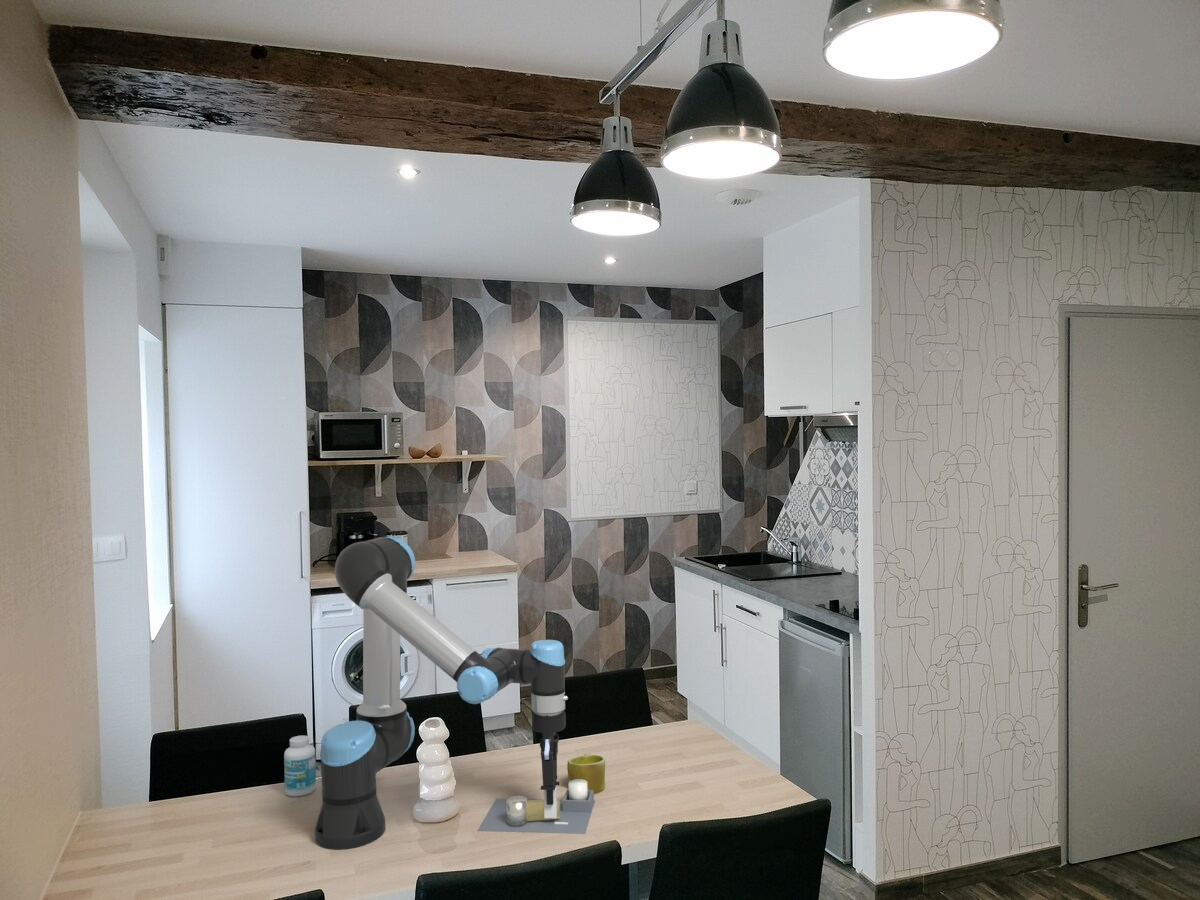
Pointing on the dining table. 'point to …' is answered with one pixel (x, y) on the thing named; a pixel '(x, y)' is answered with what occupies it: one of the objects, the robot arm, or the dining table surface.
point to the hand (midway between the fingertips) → (550, 816)
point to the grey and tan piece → (526, 810)
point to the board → (570, 821)
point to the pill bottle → (299, 767)
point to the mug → (588, 771)
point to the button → (578, 789)
